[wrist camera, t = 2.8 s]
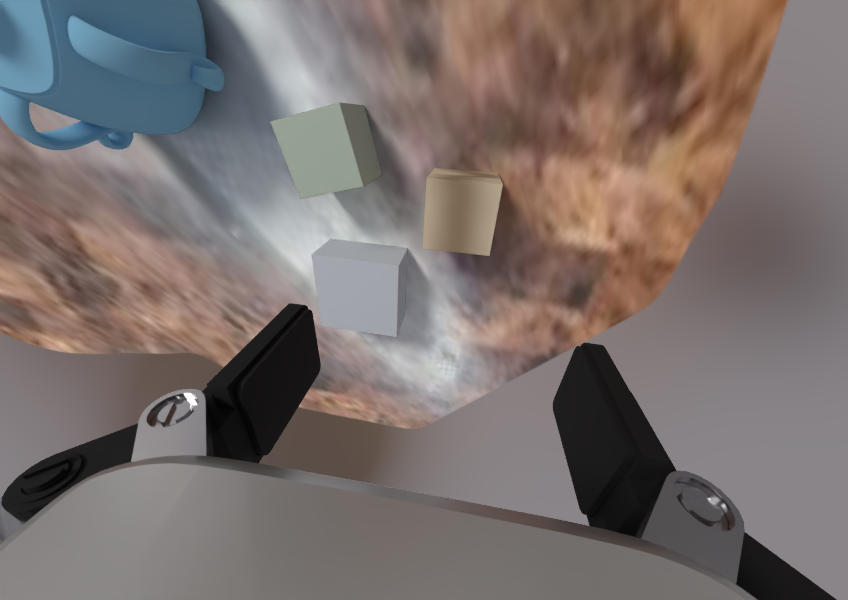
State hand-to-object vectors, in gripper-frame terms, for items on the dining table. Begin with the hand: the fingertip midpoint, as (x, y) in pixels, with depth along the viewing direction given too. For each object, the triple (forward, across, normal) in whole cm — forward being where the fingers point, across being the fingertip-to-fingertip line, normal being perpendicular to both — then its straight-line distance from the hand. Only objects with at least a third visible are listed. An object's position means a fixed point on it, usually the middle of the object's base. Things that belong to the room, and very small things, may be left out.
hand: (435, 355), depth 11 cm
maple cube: (+23, 0, 0) cm, 23 cm away
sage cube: (+23, +12, -4) cm, 26 cm away
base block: (+23, +10, +10) cm, 27 cm away
